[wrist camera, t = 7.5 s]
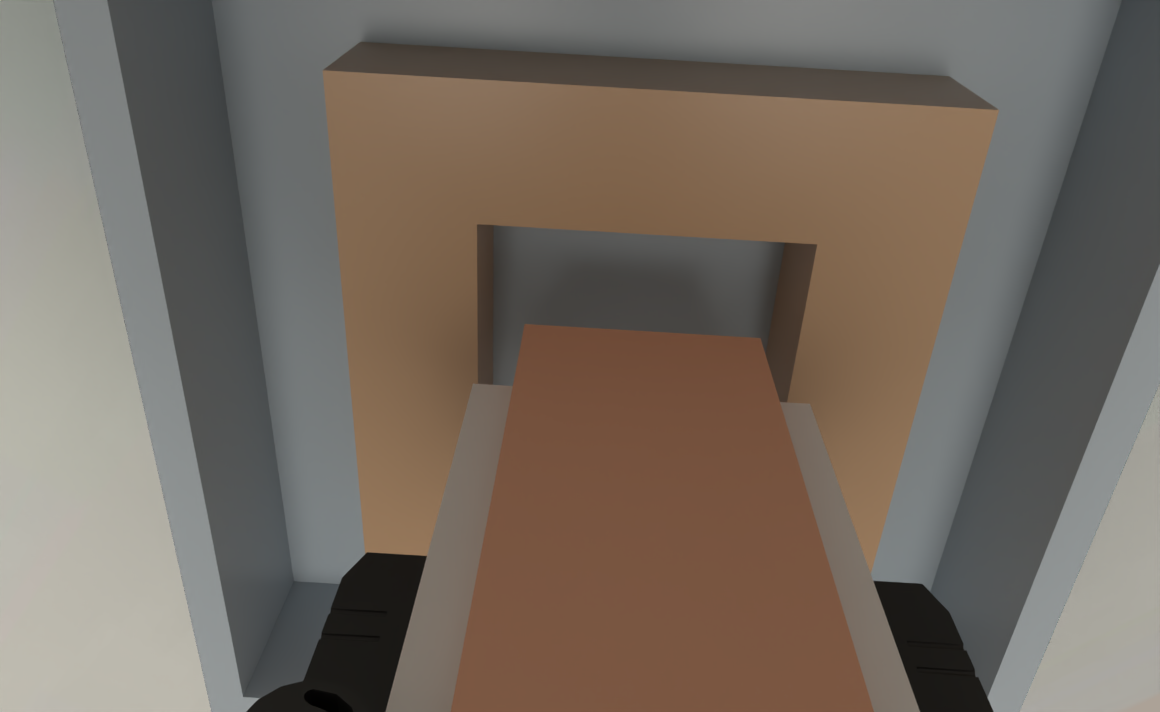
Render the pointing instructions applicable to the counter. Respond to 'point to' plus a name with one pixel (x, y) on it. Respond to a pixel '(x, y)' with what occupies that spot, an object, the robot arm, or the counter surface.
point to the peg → (652, 539)
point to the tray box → (627, 265)
